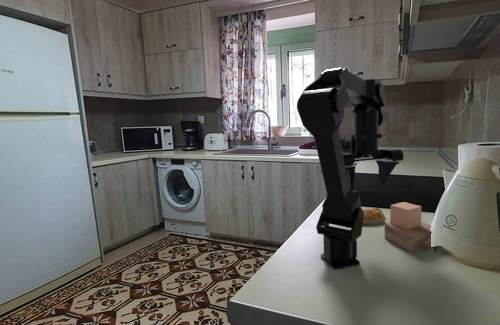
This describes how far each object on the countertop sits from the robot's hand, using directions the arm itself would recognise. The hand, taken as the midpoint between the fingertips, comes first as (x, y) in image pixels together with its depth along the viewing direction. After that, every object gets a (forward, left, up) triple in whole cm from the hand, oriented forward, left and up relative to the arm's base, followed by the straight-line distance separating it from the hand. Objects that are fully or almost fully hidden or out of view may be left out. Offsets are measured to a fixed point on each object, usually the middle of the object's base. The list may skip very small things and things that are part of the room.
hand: (366, 189), depth 78 cm
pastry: (+8, +9, -13) cm, 18 cm away
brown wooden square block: (+8, -8, -13) cm, 17 cm away
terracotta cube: (+8, -6, -9) cm, 13 cm away
